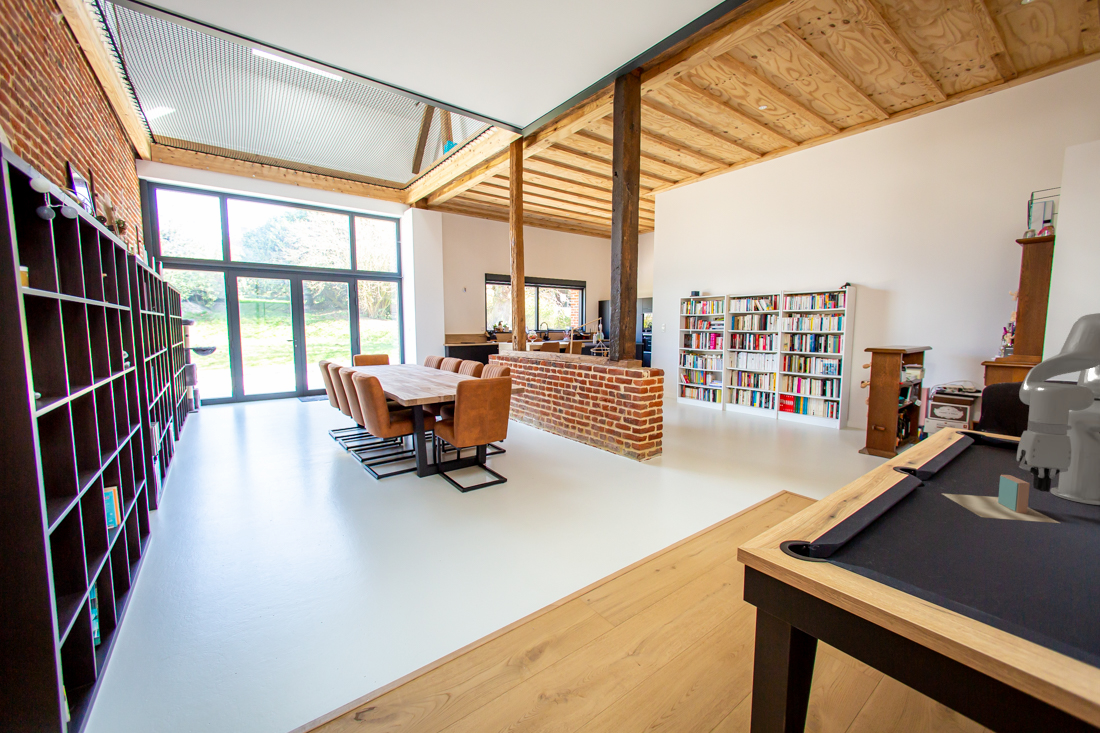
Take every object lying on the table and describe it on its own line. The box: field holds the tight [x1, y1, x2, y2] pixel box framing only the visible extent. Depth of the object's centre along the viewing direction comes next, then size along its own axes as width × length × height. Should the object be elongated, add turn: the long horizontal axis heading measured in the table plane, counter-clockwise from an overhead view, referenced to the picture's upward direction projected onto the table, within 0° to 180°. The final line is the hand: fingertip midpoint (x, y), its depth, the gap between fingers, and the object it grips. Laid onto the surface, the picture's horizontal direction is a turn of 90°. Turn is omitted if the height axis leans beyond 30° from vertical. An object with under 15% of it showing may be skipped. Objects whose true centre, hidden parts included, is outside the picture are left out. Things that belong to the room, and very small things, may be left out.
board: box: [941, 493, 1061, 524], centre depth 129 cm, size 18×18×1 cm
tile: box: [997, 474, 1031, 513], centre depth 128 cm, size 3×7×9 cm, turn 166°
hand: (1041, 489), depth 126 cm, fingers closed
